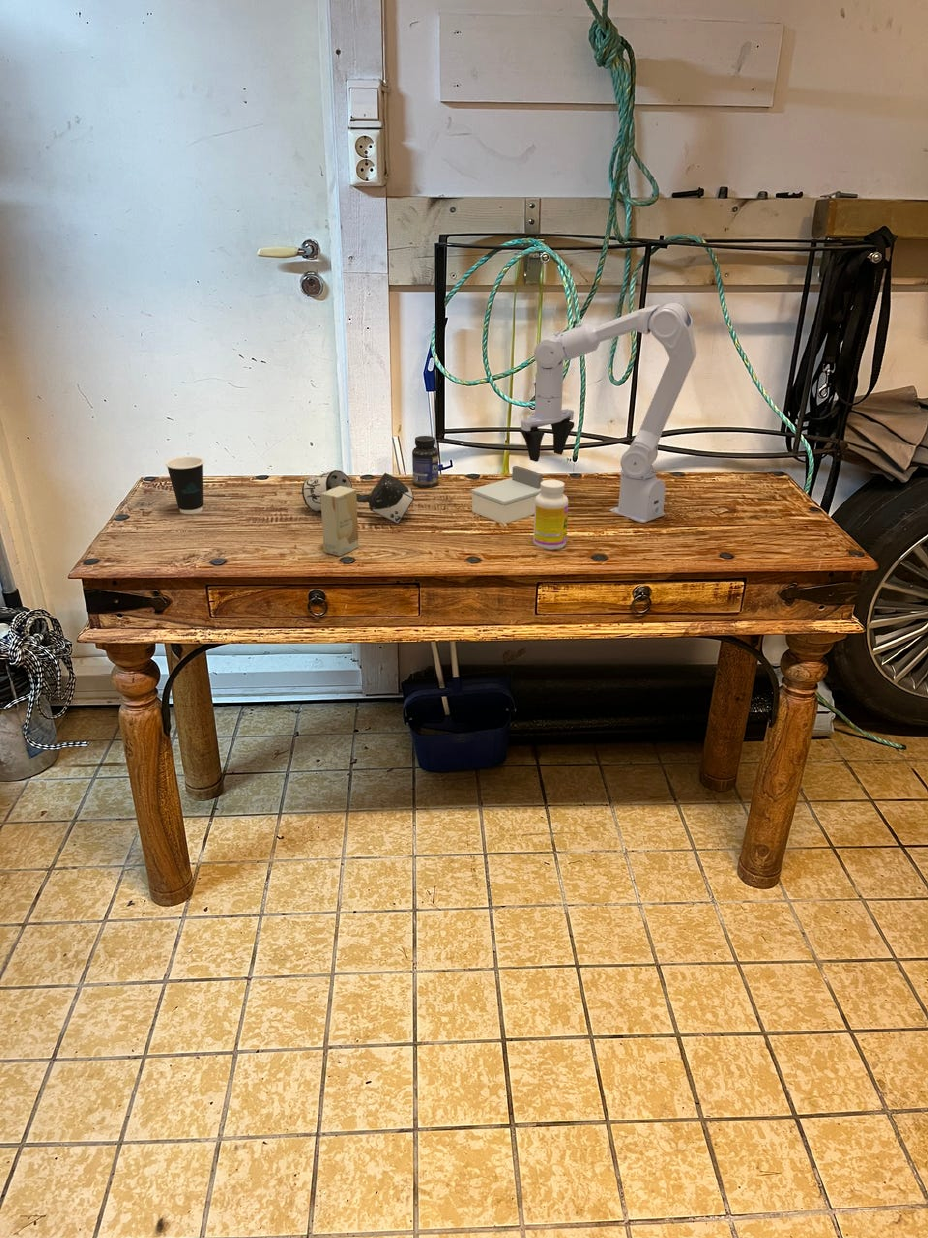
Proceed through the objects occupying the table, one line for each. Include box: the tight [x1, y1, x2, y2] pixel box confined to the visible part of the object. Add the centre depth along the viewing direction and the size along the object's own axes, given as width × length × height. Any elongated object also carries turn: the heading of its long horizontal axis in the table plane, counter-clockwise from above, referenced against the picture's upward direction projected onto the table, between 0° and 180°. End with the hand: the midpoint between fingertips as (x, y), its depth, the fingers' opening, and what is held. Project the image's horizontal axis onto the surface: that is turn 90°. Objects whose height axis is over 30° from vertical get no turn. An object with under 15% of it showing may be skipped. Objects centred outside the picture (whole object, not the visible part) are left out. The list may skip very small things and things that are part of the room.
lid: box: [470, 465, 543, 505], centre depth 203 cm, size 12×10×4 cm
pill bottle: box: [411, 435, 440, 489], centre depth 221 cm, size 6×6×11 cm
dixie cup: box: [165, 456, 205, 515], centre depth 204 cm, size 8×8×11 cm
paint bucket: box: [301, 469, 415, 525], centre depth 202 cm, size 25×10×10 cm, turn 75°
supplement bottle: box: [532, 479, 569, 551], centre depth 187 cm, size 7×7×13 cm
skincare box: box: [320, 486, 359, 557], centre depth 185 cm, size 6×4×12 cm
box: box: [471, 493, 539, 525], centre depth 205 cm, size 12×10×5 cm
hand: (546, 456), depth 208 cm, fingers open, 7 cm apart
